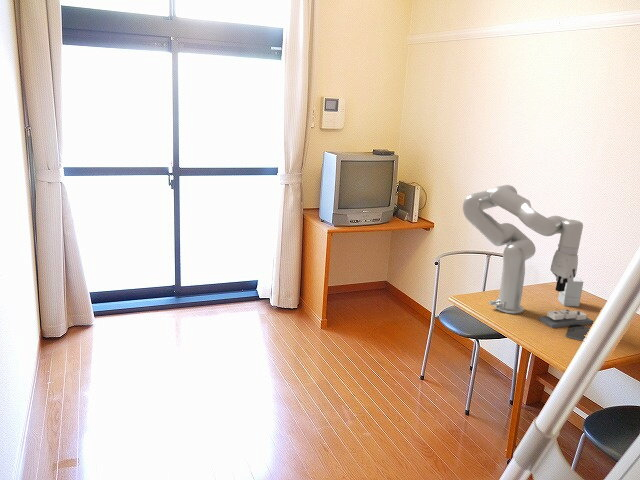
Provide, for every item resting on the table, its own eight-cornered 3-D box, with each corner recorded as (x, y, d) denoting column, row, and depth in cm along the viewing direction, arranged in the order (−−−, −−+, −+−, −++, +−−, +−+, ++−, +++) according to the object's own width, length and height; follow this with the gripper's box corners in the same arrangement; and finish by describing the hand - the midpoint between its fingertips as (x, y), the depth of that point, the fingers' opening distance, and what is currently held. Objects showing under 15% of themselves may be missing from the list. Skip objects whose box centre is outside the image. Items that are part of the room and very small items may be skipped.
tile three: (577, 320, 215) (578, 315, 214) (569, 315, 219) (570, 311, 219) (586, 319, 216) (586, 314, 216) (578, 314, 221) (579, 310, 220)
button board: (551, 327, 210) (552, 324, 210) (539, 320, 218) (539, 316, 217) (592, 323, 216) (593, 320, 215) (578, 316, 223) (579, 313, 223)
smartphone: (589, 327, 211) (585, 340, 198) (589, 329, 212) (584, 342, 198) (570, 322, 215) (565, 335, 202) (570, 324, 215) (564, 337, 202)
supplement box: (573, 301, 241) (577, 276, 238) (579, 307, 234) (584, 281, 231) (557, 300, 242) (561, 275, 238) (563, 305, 235) (567, 280, 231)
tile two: (566, 318, 213) (567, 314, 213) (558, 314, 217) (559, 309, 217) (575, 317, 214) (575, 313, 214) (567, 313, 219) (568, 309, 218)
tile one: (554, 319, 212) (555, 315, 211) (546, 315, 216) (547, 310, 215) (563, 319, 213) (564, 314, 212) (555, 314, 217) (556, 310, 216)
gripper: (547, 244, 212) (540, 284, 217) (574, 255, 199) (565, 298, 204) (562, 244, 214) (554, 283, 220) (589, 254, 201) (580, 297, 206)
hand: (559, 290), depth 212 cm, fingers closed
